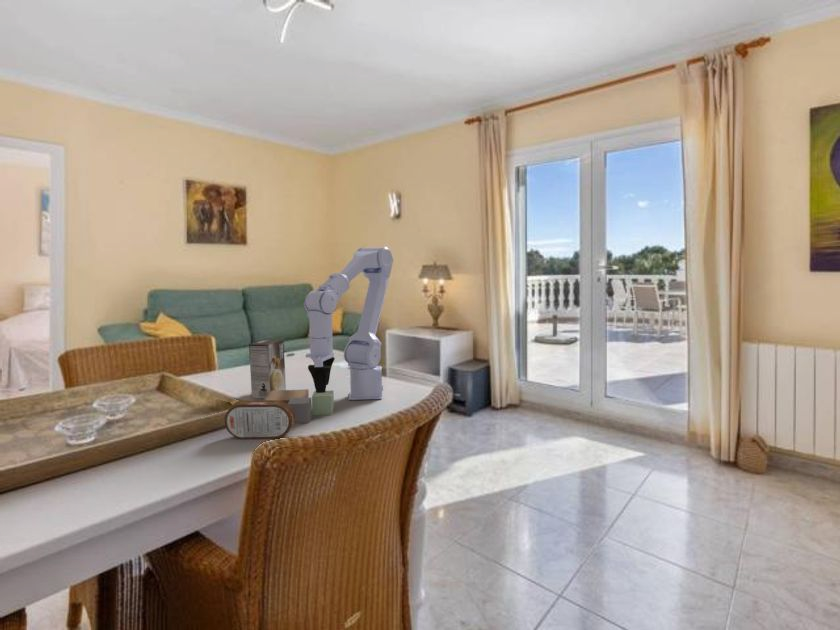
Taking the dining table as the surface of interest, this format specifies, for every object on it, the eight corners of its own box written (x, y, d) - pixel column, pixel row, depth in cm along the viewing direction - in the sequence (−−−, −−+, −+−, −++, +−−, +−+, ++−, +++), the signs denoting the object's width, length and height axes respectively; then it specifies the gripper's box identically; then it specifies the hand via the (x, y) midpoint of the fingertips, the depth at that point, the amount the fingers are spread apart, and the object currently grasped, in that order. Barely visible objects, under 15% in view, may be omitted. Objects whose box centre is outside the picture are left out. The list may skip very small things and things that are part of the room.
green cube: (333, 408, 124) (333, 390, 123) (332, 414, 119) (331, 395, 118) (315, 409, 123) (314, 391, 123) (312, 415, 118) (311, 396, 118)
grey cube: (311, 416, 117) (311, 397, 117) (309, 423, 112) (308, 403, 112) (291, 417, 117) (291, 398, 116) (288, 424, 112) (287, 404, 111)
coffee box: (267, 389, 142) (265, 338, 140) (286, 390, 141) (284, 339, 139) (250, 398, 133) (248, 343, 131) (271, 399, 132) (268, 344, 130)
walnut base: (308, 403, 129) (308, 389, 129) (303, 414, 120) (303, 399, 119) (272, 404, 128) (271, 390, 128) (264, 416, 118) (263, 401, 118)
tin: (295, 434, 105) (294, 398, 104) (292, 439, 102) (291, 402, 101) (229, 435, 104) (227, 399, 103) (223, 441, 101) (221, 403, 100)
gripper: (309, 333, 125) (310, 381, 127) (300, 341, 111) (302, 396, 113) (335, 332, 126) (336, 381, 128) (330, 341, 112) (331, 395, 113)
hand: (322, 388), depth 120 cm, fingers open, 7 cm apart
